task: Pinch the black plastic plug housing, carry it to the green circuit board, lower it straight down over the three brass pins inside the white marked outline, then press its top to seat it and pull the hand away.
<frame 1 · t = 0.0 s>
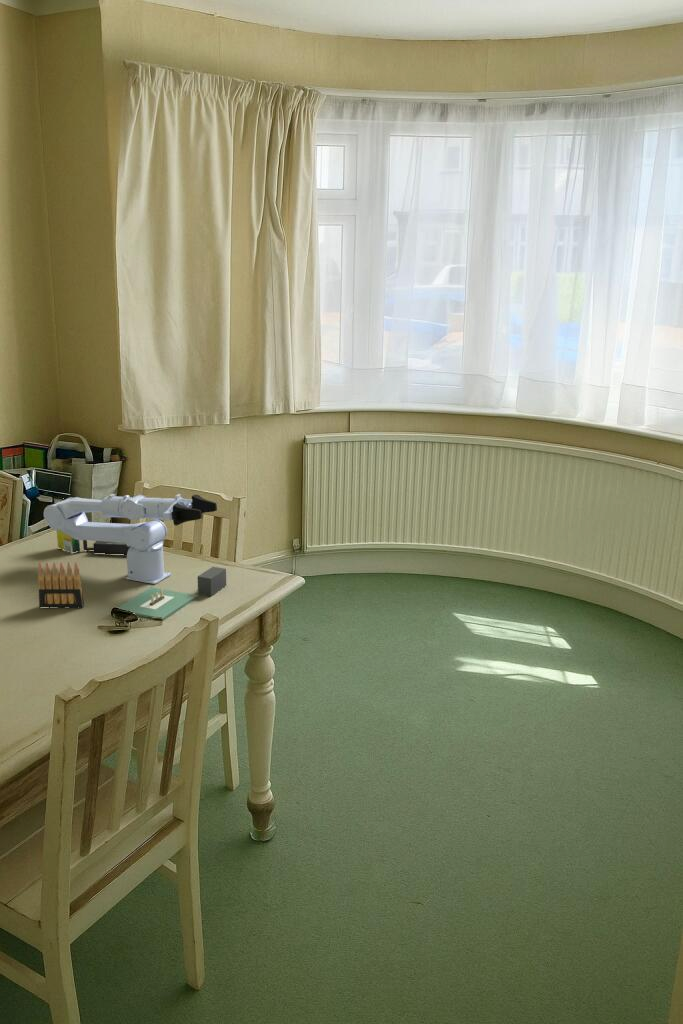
hand: (208, 510, 222), 22 cm above the table, tool horizontal, fingers open, 7 cm apart
plug housing: (212, 590, 227), on the table
header board: (157, 604, 217), on the table
ammunition clip: (62, 607, 215), on the table
wifi router: (119, 551, 257), on the table
crayon box: (69, 551, 255), on the table
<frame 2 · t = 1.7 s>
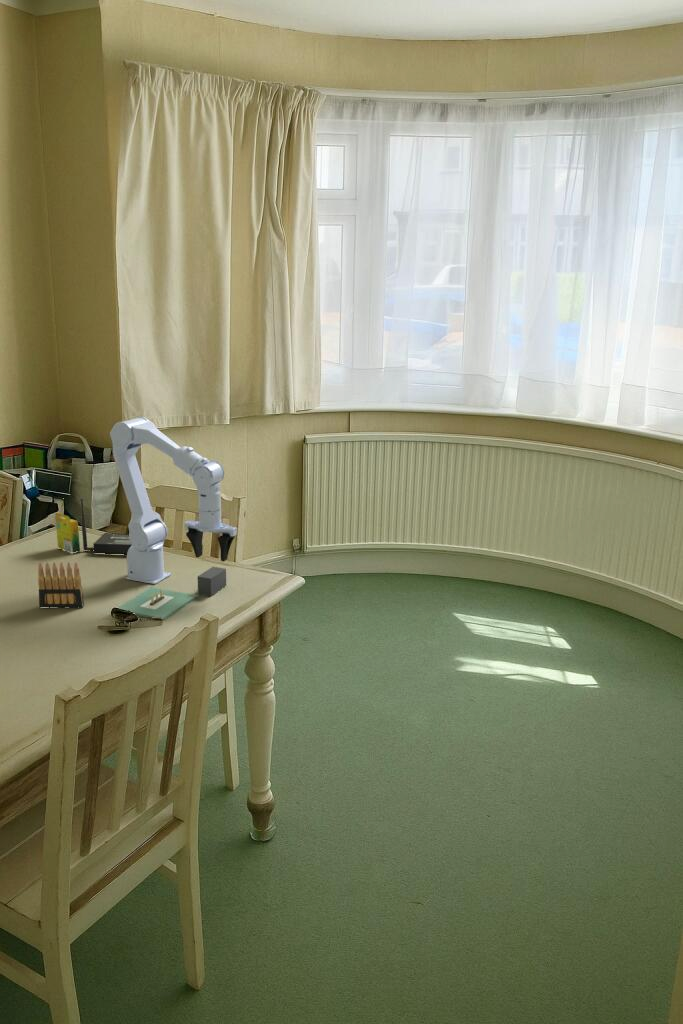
hand: (211, 558, 224), 9 cm above the table, tool pointing down, fingers open, 7 cm apart
nothing on the table moved.
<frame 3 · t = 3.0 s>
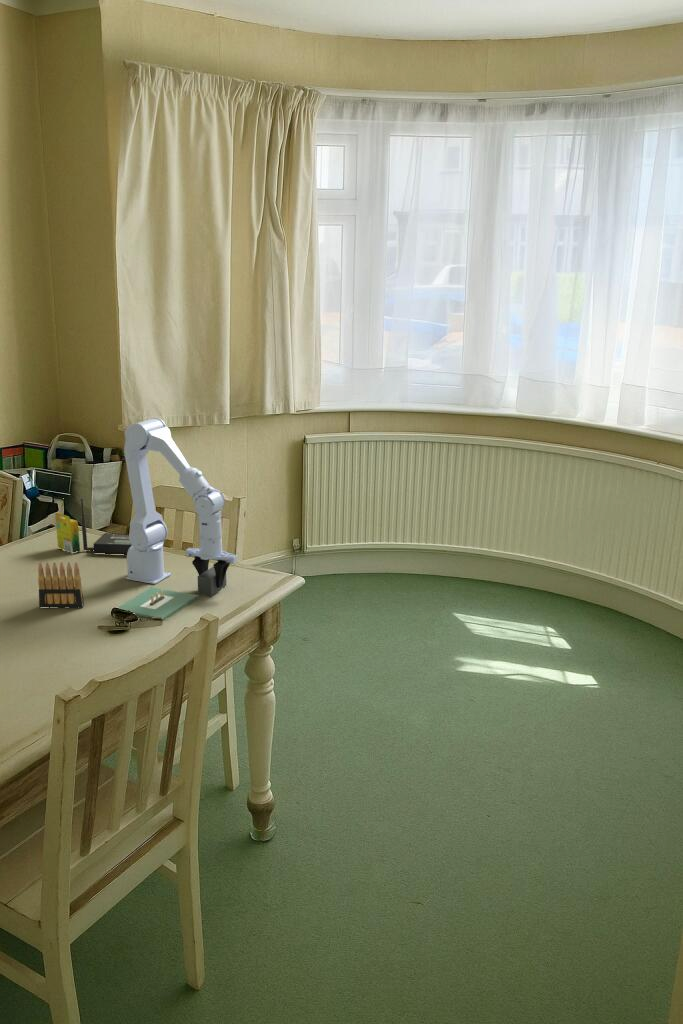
hand: (212, 585, 226), 1 cm above the table, tool pointing down, fingers closed on plug housing, 4 cm apart
plug housing: (212, 590, 227), on the table, touching gripper
everything else where it was.
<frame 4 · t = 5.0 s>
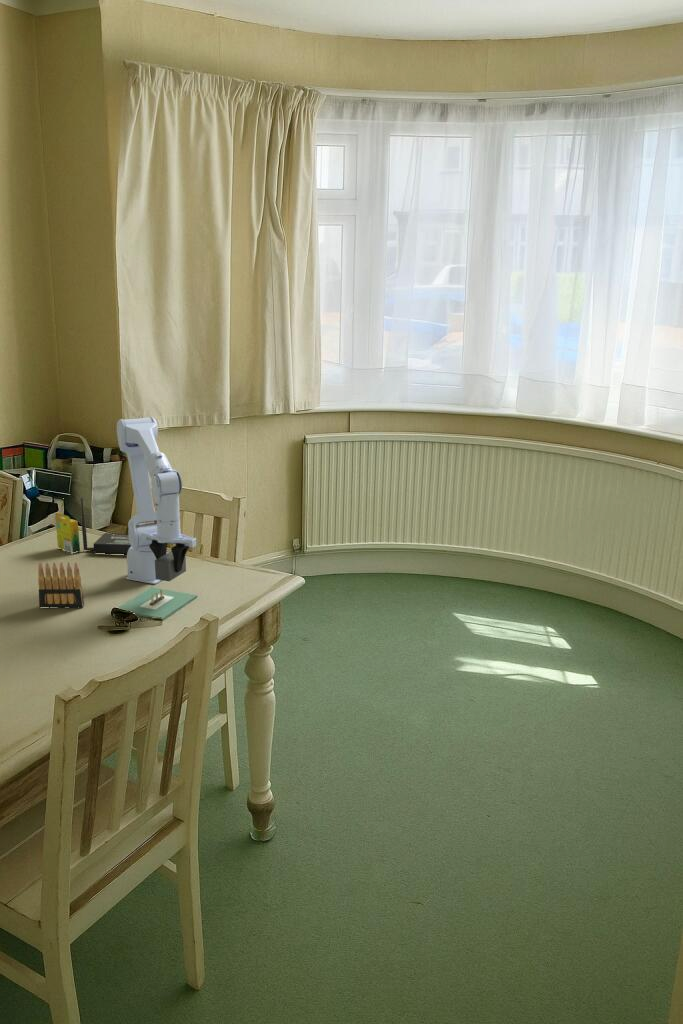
hand: (170, 569, 217), 8 cm above the table, tool pointing down, fingers closed on plug housing, 4 cm apart
plug housing: (171, 575, 218), point 7 cm above the table, touching gripper
everything else where it was.
when the fingers open (3 cm above the table, at t = 7.0 s): plug housing stays where it is, resting on header board.
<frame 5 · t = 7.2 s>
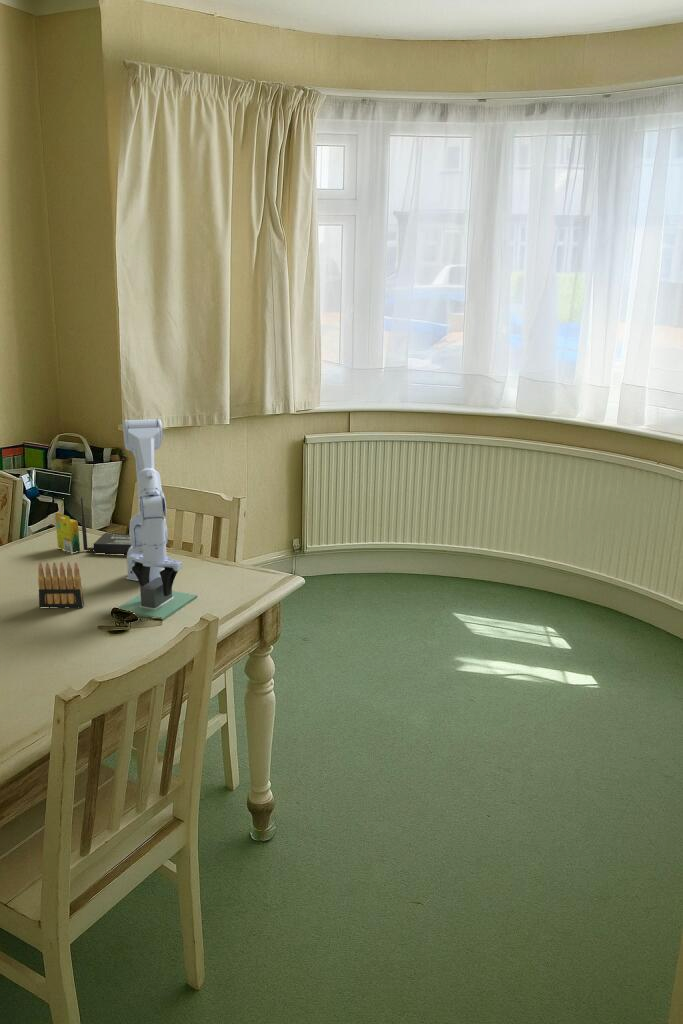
hand: (156, 592, 216), 3 cm above the table, tool pointing down, fingers open, 6 cm apart
plug housing: (157, 601, 217), point 1 cm above the table, touching header board
everything else where it was.
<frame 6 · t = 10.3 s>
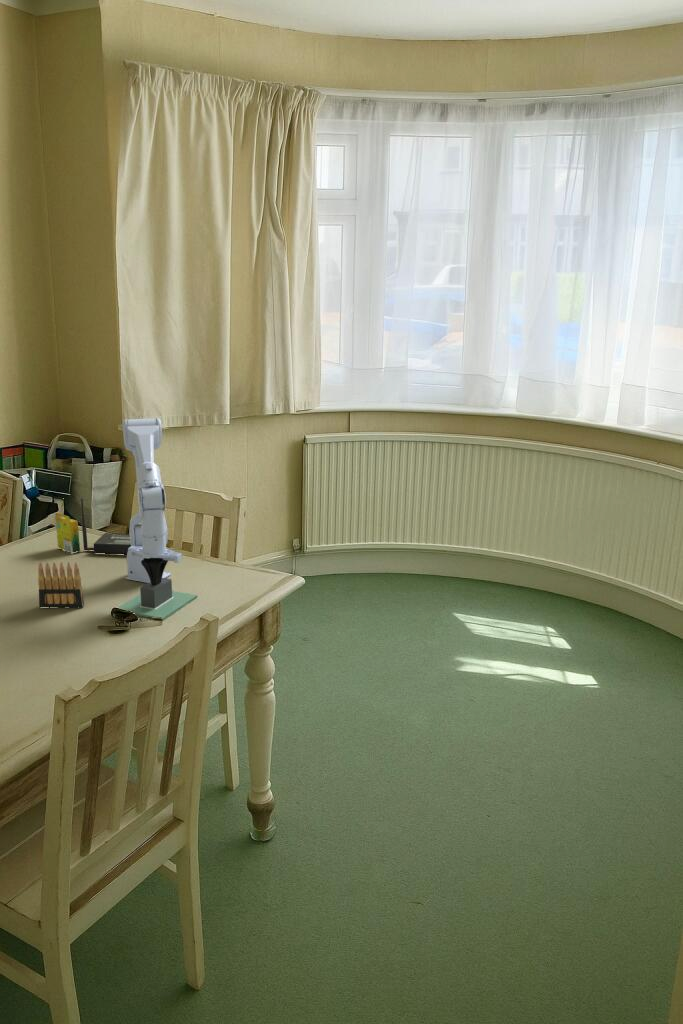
hand: (156, 585, 216), 5 cm above the table, tool pointing down, fingers closed, pressing on plug housing
plug housing: (157, 601, 217), point 1 cm above the table, touching gripper, header board
everything else where it was.
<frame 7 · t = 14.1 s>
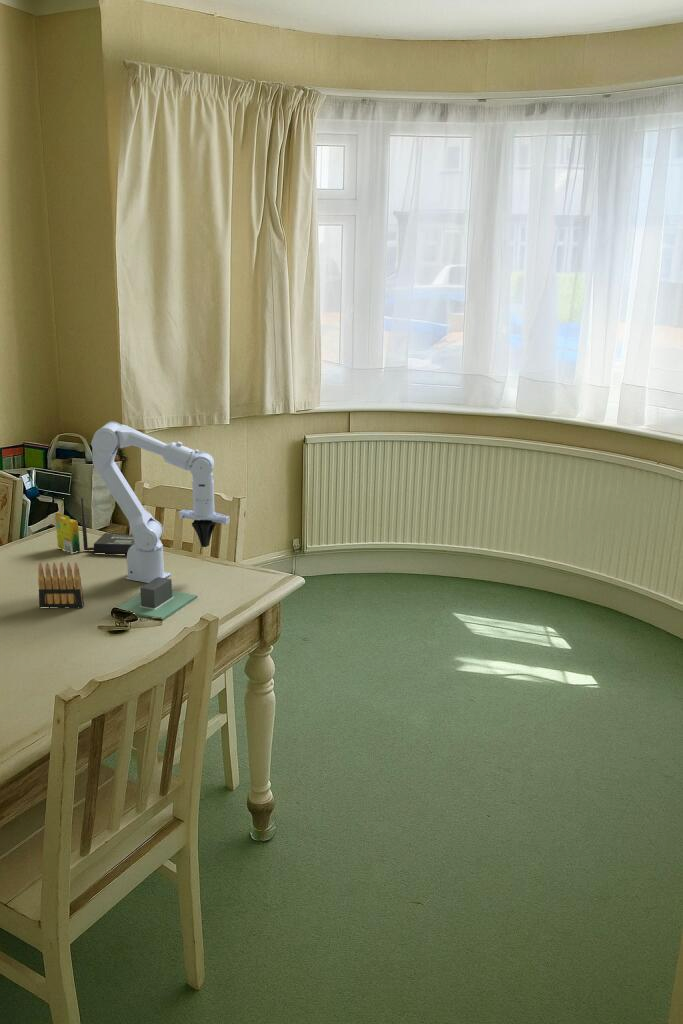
hand: (205, 545, 232), 9 cm above the table, tool pointing down, fingers closed
plug housing: (157, 601, 217), point 1 cm above the table, touching header board
everything else where it was.
at the end: plug housing 0.0 cm off-centre on the header board, point 0.7 cm above the header board's base; plug housing tilted 0°; the gripper is holding nothing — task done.
